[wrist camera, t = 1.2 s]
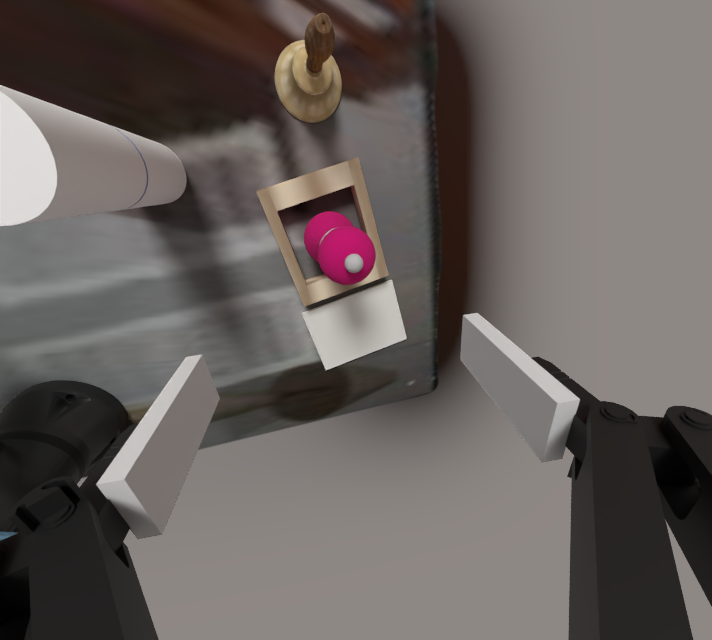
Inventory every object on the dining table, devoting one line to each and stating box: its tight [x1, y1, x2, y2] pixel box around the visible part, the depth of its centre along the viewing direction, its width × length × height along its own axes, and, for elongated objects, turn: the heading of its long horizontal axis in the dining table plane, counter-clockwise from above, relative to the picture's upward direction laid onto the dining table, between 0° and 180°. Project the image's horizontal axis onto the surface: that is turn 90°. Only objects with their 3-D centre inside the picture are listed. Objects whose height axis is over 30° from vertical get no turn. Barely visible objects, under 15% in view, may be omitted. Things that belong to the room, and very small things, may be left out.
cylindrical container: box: [0, 85, 187, 226], centre depth 26 cm, size 7×7×25 cm
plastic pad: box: [302, 280, 407, 370], centre depth 52 cm, size 16×12×1 cm
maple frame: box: [256, 157, 388, 307], centre depth 44 cm, size 14×17×3 cm
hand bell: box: [275, 13, 342, 123], centre depth 30 cm, size 8×8×16 cm
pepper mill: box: [304, 211, 376, 285], centre depth 36 cm, size 7×7×20 cm
